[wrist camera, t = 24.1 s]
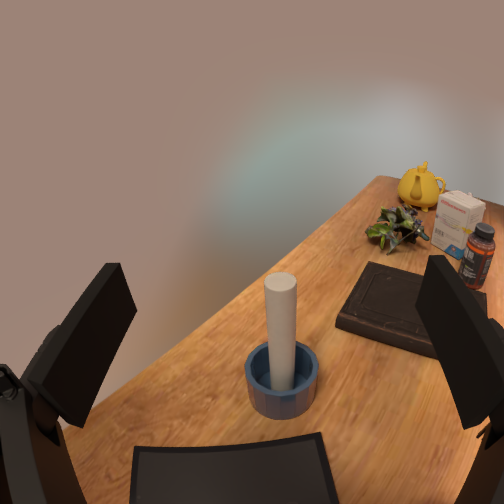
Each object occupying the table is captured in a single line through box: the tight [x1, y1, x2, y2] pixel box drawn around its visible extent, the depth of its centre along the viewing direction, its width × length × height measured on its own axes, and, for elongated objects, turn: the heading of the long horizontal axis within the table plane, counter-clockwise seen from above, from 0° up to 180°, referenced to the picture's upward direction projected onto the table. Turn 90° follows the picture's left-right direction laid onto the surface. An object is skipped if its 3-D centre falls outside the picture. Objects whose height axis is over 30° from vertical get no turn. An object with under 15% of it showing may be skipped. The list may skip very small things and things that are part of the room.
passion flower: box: [365, 204, 429, 255], centre depth 55 cm, size 11×11×12 cm
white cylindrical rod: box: [264, 272, 297, 391], centre depth 28 cm, size 3×3×16 cm
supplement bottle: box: [458, 223, 495, 289], centre depth 42 cm, size 6×6×11 cm
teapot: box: [398, 161, 446, 212], centre depth 72 cm, size 20×15×12 cm
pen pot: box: [245, 341, 319, 420], centre depth 31 cm, size 8×8×6 cm
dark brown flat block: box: [335, 261, 488, 360], centre depth 39 cm, size 16×23×2 cm
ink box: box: [431, 190, 485, 260], centre depth 52 cm, size 9×8×12 cm
